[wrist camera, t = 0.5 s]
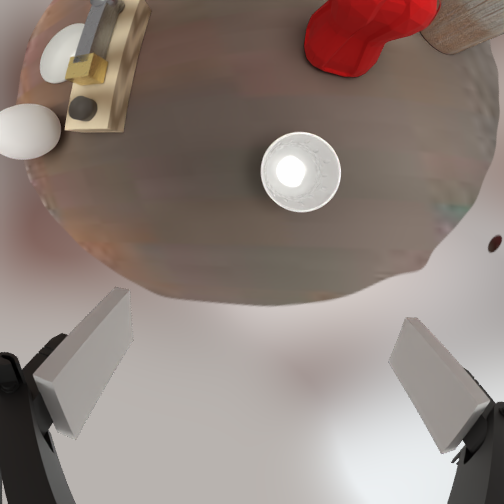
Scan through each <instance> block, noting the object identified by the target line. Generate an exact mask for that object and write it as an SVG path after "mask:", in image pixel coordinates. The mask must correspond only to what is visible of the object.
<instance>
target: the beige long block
mask: <svg viewBox="0 0 504 504" xmlns="http://www.w3.org/2000/svg"><path fill="white" fill-rule="evenodd" d="M122 1H123V2H124V8H123V10H122V11H121V12H120V13H119V14H118V17H117V20H116V23H115V26H114V29H113V32H112V35H111V38H110V42H109V45H108V49H107V52H106V56H105V61H107V62H108V65H107V69H106V74H105V78H104V82H103V83H102V84H91V85H82V86H80V85H78V84H76V83H73V86H72V91H71V95H70V100H69V106H68V111H67V117H66V123H65V130H68V131H75V132H82V133H92V132H124V125H125V119H126V113H127V107H128V102H129V97H130V92H131V87H132V82H133V77H134V73H135V69H136V64H137V60H138V56H139V52H140V48H141V45H142V41H143V37H144V34H145V30H146V27H147V24H148V21H149V17H150V14H151V9H150V8H149V6H148V5H147V3H146V2H145V1H144V0H122Z"/></svg>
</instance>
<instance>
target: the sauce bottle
mask: <svg viewBox="0 0 504 504" xmlns="http://www.w3.org/2000/svg"><path fill="white" fill-rule="evenodd" d="M60 134H61V124H60V121H59V119H58V117H57V116H56V114H55V113H54V112H53V111H52V110H50V109H49V108H47V107H44V106H42V105H38V104H20V105H16V106H12V107H9V108H6V109H4V110H2V111H0V154H2V155H4V156H6V157H9V158H14V159H20V160H21V159H22V160H25V159H34V158H37V157H40V156H42V155H44V154H46V153H48V152H49V151H50V150H52V149H53V148H54V147H55V146H56V144H57V143H58V141H59V138H60Z"/></svg>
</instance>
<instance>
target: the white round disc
mask: <svg viewBox="0 0 504 504" xmlns="http://www.w3.org/2000/svg"><path fill="white" fill-rule="evenodd" d="M84 25H85V24H81V23H78V24H73V25H70V26H67V27H66V28H64V29H62V30H61V31H60V32H58V33H57V34H56V35H55V36H54V37H53V38H52V39H51V41H50V42H49V43H48V45H47V46H46V48H45V50H44V52H43V55H42V57H41V61H40V72H41V75H42V77H43V79H44V80H45V81H47V82H50V83H53V84H58V83H62V82H65V81H67V80H66V79H65V75H66V71H67V67H68V64H69V60H70V57H73V56H75V53H76V50H77V47H78V43H79V40H80V37H81V34H82V31H83V28H84Z"/></svg>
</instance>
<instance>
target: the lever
mask: <svg viewBox="0 0 504 504" xmlns="http://www.w3.org/2000/svg"><path fill="white" fill-rule="evenodd" d="M90 2H91V4H92V7H91V9H90V12H89V14H88V17H87V20H86V22H85V25H84V28H83V31H82V34H81V37H80V40H79V43H78V47H77V50H76V53H75V56H73V57H70V60H69V64H68V67H67V71H66V75H65V79H66V80H68V81H71V82H73V83H76V84H78V85H80V86H82V85H91V84H102V83H103V82H104V78H105V74H106V69H107V65H108V62H107V61H105V56H106V52H107V49H108V45H109V42H110V38H111V35H112V32H113V29H114V26H115V23H116V20H117V17H118V14H119V13H120V12H121V11H122V10H123V8H124V2H123V1H122V0H90Z"/></svg>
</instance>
